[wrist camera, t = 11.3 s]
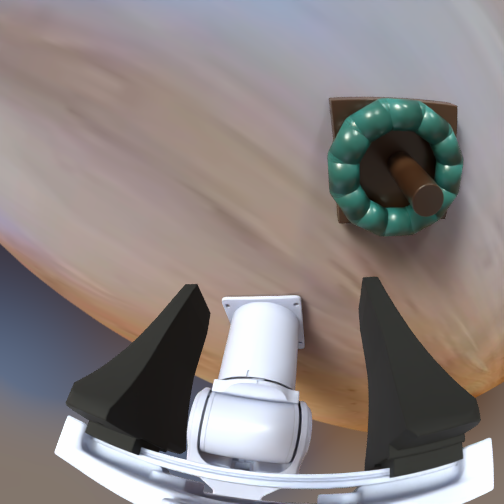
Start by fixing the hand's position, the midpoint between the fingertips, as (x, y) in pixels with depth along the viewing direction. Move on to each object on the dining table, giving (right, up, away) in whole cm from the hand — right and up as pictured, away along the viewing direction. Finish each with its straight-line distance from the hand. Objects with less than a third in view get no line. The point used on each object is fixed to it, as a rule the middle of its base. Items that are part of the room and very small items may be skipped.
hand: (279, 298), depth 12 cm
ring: (+8, +7, +3) cm, 11 cm away
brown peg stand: (+9, +8, +5) cm, 13 cm away
